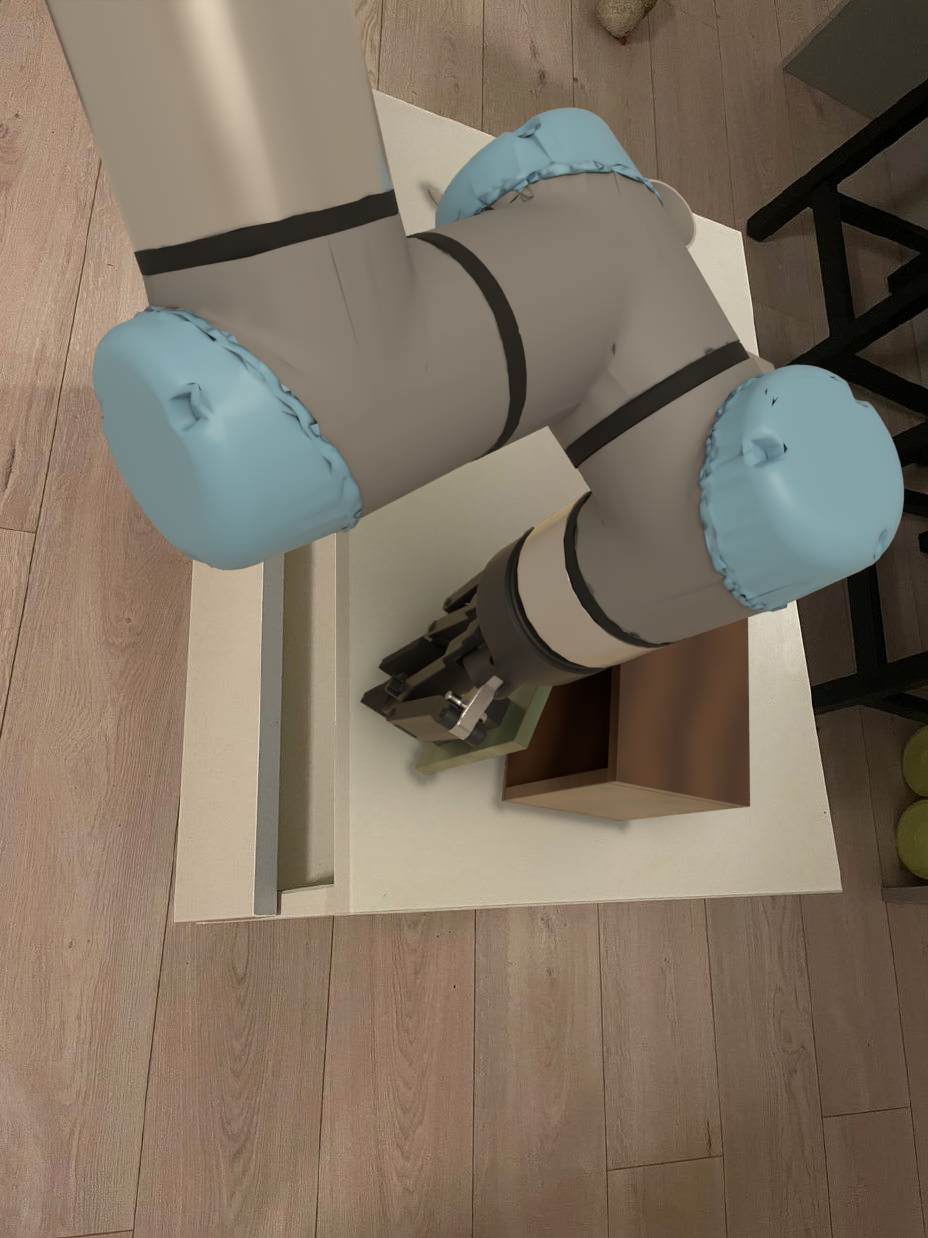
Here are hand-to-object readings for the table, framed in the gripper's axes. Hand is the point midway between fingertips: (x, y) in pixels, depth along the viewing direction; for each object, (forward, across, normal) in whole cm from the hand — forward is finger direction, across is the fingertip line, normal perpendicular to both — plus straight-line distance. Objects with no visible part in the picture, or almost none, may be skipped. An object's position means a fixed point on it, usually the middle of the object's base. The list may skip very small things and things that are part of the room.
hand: (388, 690), depth 63 cm
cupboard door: (+4, +7, -3) cm, 8 cm away
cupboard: (+5, +9, -15) cm, 18 cm away
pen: (+4, +42, +10) cm, 43 cm away
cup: (+4, +52, -1) cm, 52 cm away
